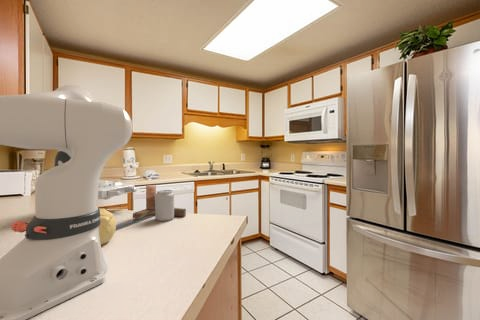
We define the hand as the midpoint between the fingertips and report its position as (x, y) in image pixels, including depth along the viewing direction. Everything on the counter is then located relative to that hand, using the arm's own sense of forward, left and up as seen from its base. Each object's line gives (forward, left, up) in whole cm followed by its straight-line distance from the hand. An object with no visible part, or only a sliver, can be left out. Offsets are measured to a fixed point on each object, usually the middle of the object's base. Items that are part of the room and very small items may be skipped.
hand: (127, 191), depth 105 cm
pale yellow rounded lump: (-31, -17, -10) cm, 37 cm away
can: (-2, -21, -10) cm, 24 cm away
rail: (-9, -13, -10) cm, 19 cm away
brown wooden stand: (-2, -19, -10) cm, 21 cm away
